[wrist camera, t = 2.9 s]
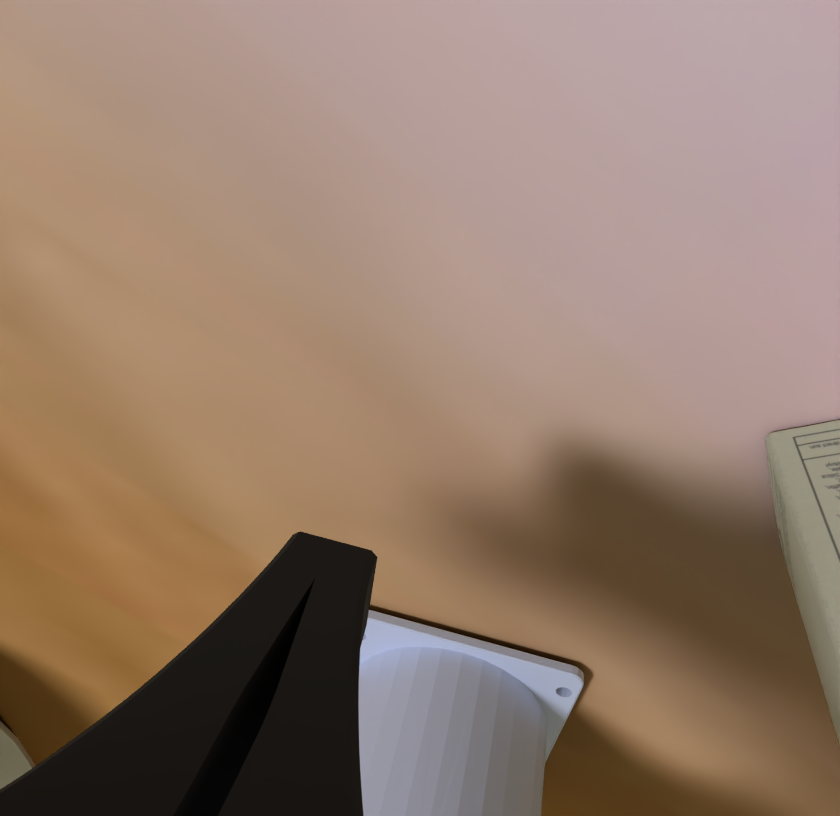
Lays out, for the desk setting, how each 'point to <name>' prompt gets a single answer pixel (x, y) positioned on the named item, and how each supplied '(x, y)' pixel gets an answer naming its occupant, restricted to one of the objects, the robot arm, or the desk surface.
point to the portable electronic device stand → (12, 757)
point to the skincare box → (812, 538)
